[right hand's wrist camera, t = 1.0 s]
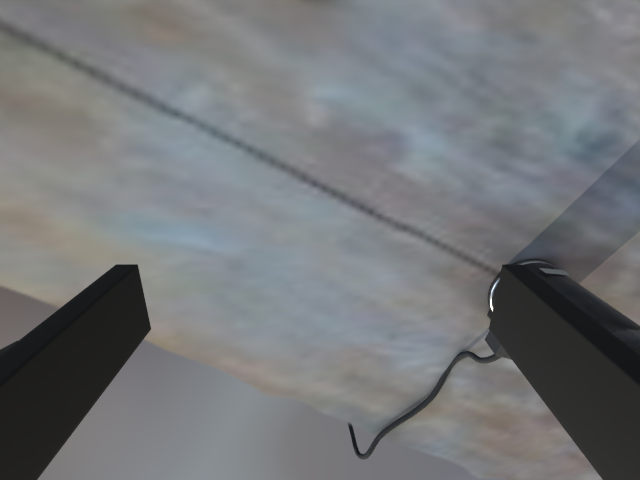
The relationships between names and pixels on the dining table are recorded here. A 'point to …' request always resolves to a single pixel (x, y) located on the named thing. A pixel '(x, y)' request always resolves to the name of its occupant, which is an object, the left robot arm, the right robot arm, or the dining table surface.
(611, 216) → the dining table surface
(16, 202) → the dining table surface
